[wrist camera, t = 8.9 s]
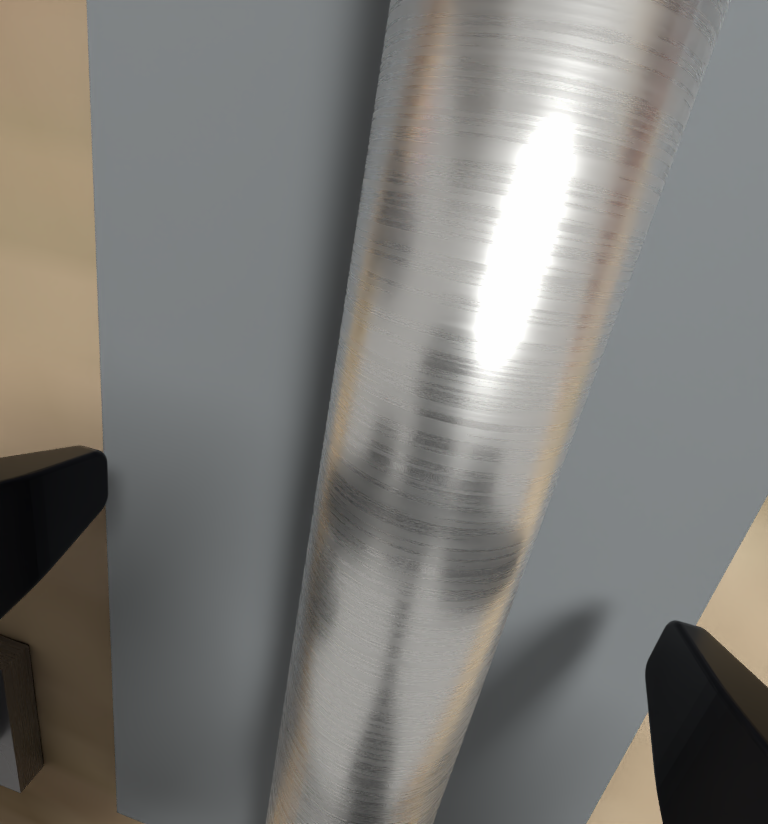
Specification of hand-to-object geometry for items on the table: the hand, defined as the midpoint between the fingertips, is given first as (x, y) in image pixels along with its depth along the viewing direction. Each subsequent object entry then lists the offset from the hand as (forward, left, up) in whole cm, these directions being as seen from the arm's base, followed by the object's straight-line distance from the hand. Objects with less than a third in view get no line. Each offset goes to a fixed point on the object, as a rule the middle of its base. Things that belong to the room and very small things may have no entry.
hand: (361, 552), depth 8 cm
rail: (0, -1, 0) cm, 1 cm away
